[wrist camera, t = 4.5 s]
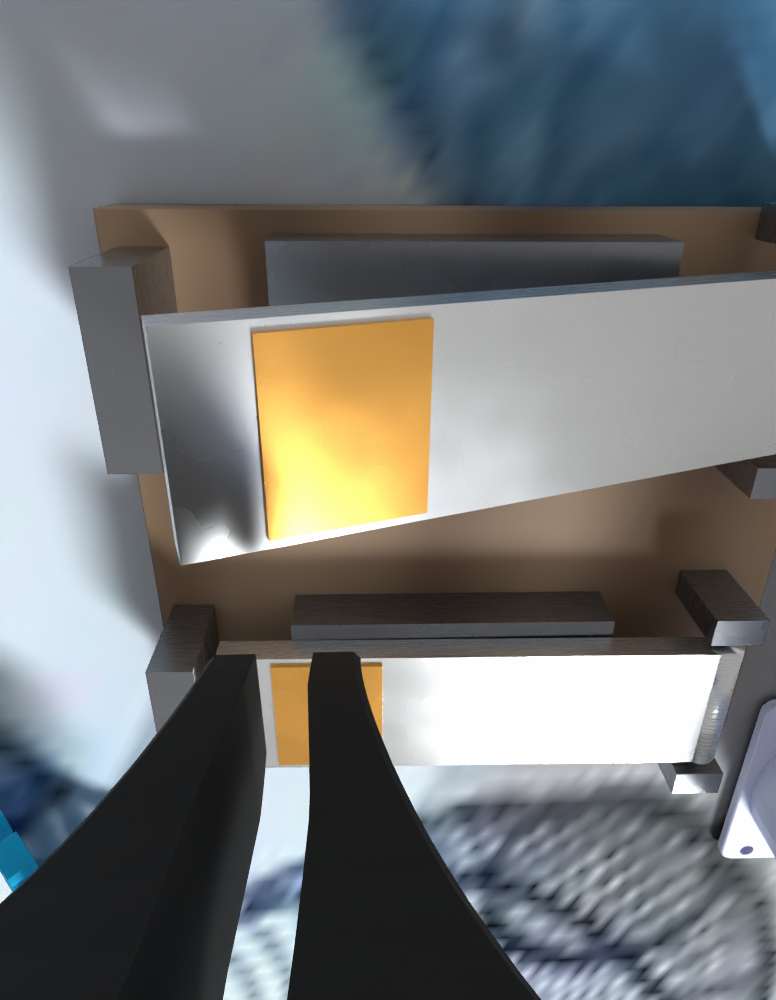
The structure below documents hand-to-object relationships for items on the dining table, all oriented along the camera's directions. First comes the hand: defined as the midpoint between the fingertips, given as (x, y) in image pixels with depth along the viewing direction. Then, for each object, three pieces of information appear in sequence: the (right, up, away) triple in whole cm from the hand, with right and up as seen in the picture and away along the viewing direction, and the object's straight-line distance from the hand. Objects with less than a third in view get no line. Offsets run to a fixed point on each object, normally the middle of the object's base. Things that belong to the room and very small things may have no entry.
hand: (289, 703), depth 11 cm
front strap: (+5, +5, +3) cm, 8 cm away
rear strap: (+4, -2, +10) cm, 11 cm away
